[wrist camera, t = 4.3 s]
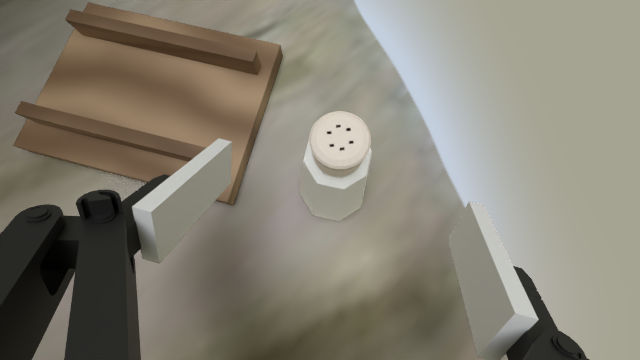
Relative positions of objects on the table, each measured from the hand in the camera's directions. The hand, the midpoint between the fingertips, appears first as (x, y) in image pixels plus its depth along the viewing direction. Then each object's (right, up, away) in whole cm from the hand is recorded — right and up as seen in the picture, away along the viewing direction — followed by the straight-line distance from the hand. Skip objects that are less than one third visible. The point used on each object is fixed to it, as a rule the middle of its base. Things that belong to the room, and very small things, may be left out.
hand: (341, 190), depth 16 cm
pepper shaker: (0, 0, +8) cm, 8 cm away
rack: (-15, +7, +10) cm, 19 cm away
